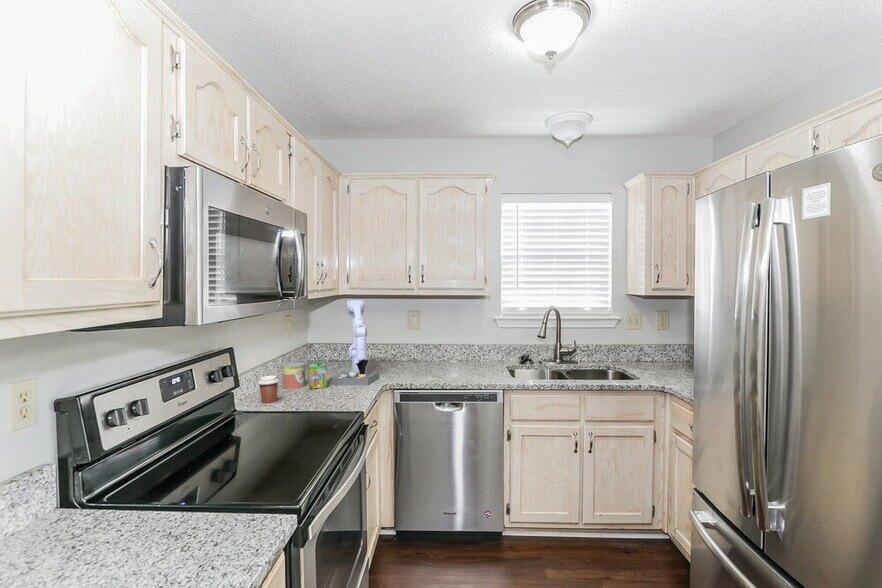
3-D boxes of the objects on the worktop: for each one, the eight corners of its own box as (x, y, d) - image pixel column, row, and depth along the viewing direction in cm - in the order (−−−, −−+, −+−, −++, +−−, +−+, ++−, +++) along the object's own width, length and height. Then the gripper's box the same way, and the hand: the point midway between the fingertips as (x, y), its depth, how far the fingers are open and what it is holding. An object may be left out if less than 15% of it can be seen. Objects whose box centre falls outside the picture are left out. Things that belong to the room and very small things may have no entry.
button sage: (351, 376, 240) (350, 371, 240) (357, 377, 239) (357, 371, 239) (348, 378, 236) (347, 372, 236) (354, 378, 235) (354, 373, 235)
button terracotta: (360, 378, 239) (360, 373, 239) (367, 378, 238) (367, 373, 238) (357, 380, 235) (357, 374, 235) (364, 380, 234) (364, 374, 234)
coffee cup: (283, 400, 205) (282, 374, 205) (275, 405, 196) (273, 379, 196) (264, 400, 205) (262, 375, 205) (255, 406, 196) (253, 379, 196)
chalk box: (308, 386, 233) (306, 358, 233) (325, 384, 236) (324, 356, 236) (309, 389, 224) (308, 361, 224) (327, 387, 228) (326, 359, 227)
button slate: (341, 379, 241) (341, 373, 241) (348, 379, 240) (348, 373, 240) (338, 380, 237) (338, 375, 237) (345, 380, 237) (345, 375, 236)
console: (342, 378, 250) (342, 371, 250) (378, 378, 245) (378, 371, 245) (329, 384, 234) (329, 377, 234) (368, 385, 229) (367, 378, 229)
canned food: (293, 390, 225) (292, 367, 224) (278, 388, 230) (277, 365, 230) (310, 385, 234) (309, 363, 234) (295, 383, 240) (294, 361, 240)
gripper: (359, 347, 244) (360, 371, 244) (348, 351, 230) (349, 376, 230) (371, 347, 242) (372, 371, 243) (361, 351, 228) (362, 377, 229)
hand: (362, 374), depth 236 cm, fingers closed, pressing on button terracotta
